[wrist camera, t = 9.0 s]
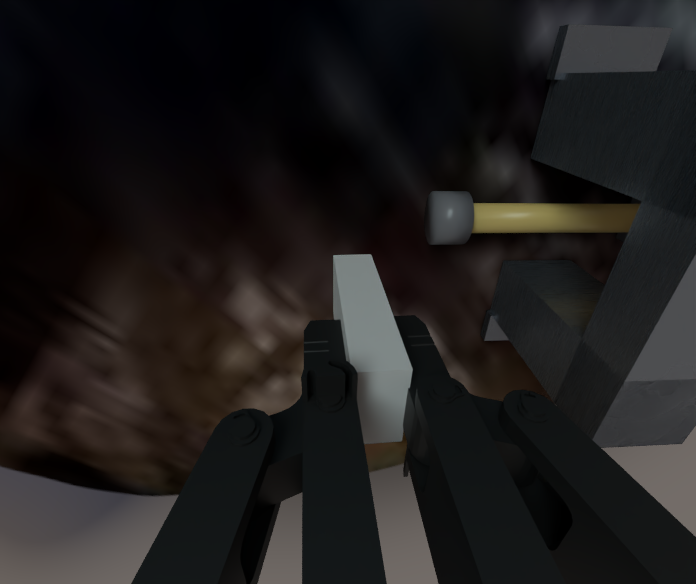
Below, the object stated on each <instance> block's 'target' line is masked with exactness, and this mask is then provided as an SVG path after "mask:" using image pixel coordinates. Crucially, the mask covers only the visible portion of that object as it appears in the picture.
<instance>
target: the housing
mask: <svg viewBox="0 0 696 584" xmlns="http://www.w3.org/2000/svg"><path fill="white" fill-rule="evenodd" d="M671 31H672V28H655V27H627V26H599V25H571V24H569V25H564V26H560V28H559V32H558V36H557V40H556V43H555V47H554V51H553V55H552V59H551V63H550V67H549V71H548V75H547V78H546V79H550V80H551V83H550V87H549V90H548V94H547V98H546V102H545V106H544V109H543V113H542V117H541V121H540V125H539V128H538V132H537V136H536V140H535V143H534V147H533V151H532V155H531V159H534V160H536V161H539V162H541V163H544V164H547V165H549V166H552V167H555V168H557V169H560V170H562V171H565V172H568V173H570V174H573V175H575V176H578V177H581V178H583V179H586V180H589V181H591V182H594V183H596V184H599V185H602V186H604V187H607V188H609V189H612V190H615V191H617V192H620V193H623V194H625V195H628V196H630V197H633V198H636V199H638V200H641V201H642V202H641V204H640V206H639V209H638V211H637V213H636V215H635V218H634V220H633V222H632V225H631V227H630V229H629V231H628V234H627V236H626V238H625V241H624V243H623V245H622V247H621V250H620V252H619V254H618V257H617V259H616V261H615V263H614V266H613V268H612V270H611V272H610V275H609V277H608V279H607V282H606V284H605V285H604V284H602V283H601V282H600V281H598V280H597V279H595V278H594V277H593V276H591V275H590V274H589V273H587V272H586V271H585V270H583V269H582V268H580V267H579V266H578V265H576V264H575V263H574V262H572V261H571V260H530V261H503V264H502V268H501V272H500V276H499V280H498V283H497V287H496V291H495V295H494V299H493V302H492V306H491V310H487V311H486V315H485V319H484V323H483V326H482V330H481V334H480V335H481V336H482V338H483V340H484V341H497V340H510V342H511V343H512V345H513V346H514V347H515V349H516V350H517V352H518V353H519V354H520V356H521V357H522V358H523V360H524V361H525V363H526V364H527V365H528V367H529V368H530V370H531V371H532V372H533V374H534V375H535V376H536V378H537V379H538V381H539V382H540V383H541V385H542V386H543V388H544V389H545V390H546V392H547V393H548V394H549V396H550V397H551V399H552V400H553V401H554V403H555V404H556V406H557V407H558V408H559V409H560V410H561V411H562V412H563V413H564V414H565V415H566V416H567V417H568V418H570V419H571V420H572V421H573V422H574V423H575V424H576V425H577V426H578V427H579V428H580V429H581V430H582V431H583V432H584V433H586V434H587V435H588V436H589V437H590V438H591V439H592V440H593V441H594V442H595V443H596V444H597V445H598V446H599V447H600V448H606V447H625V446H647V445H668V444H682V443H683V442H684V440H685V439H686V438H687V436H688V435H689V434H690V432H691V431H692V430H693V428H694V427H695V426H696V71H656V70H657V67H658V65H659V62H660V59H661V57H662V54H663V52H664V49H665V47H666V44H667V41H668V39H669V36H670V34H671Z"/></svg>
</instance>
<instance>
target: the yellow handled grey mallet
mask: <svg viewBox="0 0 696 584" xmlns="http://www.w3.org/2000/svg"><path fill="white" fill-rule="evenodd" d="M641 202H642V201H641V200H638V199H636V198H632V201H631V203H630V204H547V203H473V200H472V197H471V195H470V193H468V192H466V191H432V192H431V193H430V195H429V197H428V199H427V203H426V208H425V216H424V227H425V235H426V239H427V241H428V243H429V244H431V245H439V244H465V243H466V242H467V241H468V240H469V238H470V235H471V233H611V232H618V233H617V236H616V238H617V239H619V240H620V241H622V242H624V241H625V238H626V236H627V234H628V231H629V229H630V227H631V225H632V222H633V220H634V218H635V215H636V213H637V211H638V209H639V206H640V204H641Z"/></svg>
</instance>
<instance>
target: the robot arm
mask: <svg viewBox="0 0 696 584" xmlns="http://www.w3.org/2000/svg"><path fill="white" fill-rule="evenodd" d="M333 313H334V320H315V321H310V322H309V324H308V325H307V327H306V328H305V330H304V370H303V373H302V377H301V381H302V395H301V397H300V399H299V400H298V401H297V402H296V403H295V404H294V405H293V406H291V407H290V408H288V409H286V410H284V411H282V412H279V413H276V414H273V415H270V416H268V415H267V414H266V413H265V412H264V411H260V410H257V409H241V410H238V411H235V412H232V413H231V414H229V415H228V416H226V417H225V418H223V419H222V420H221V421H220V423H219V424H218V425H217V426H216V428H215V429H214V431H213V433H212V435H211V437H210V439H209V441H208V442H207V444H206V446H205V448H204V450H203V452H202V454H201V455H200V457H199V459H198V461H197V463H196V465H195V467H194V468H193V470H192V472H191V474H190V476H189V478H188V479H187V481H186V483H185V485H184V487H183V489H182V491H181V492H180V494H179V496H178V498H177V500H176V502H175V504H174V505H173V507H172V509H171V511H170V513H169V515H168V517H167V519H166V520H165V522H164V524H163V526H162V528H161V530H160V531H159V533H158V535H157V537H156V539H155V541H154V543H153V544H152V546H151V548H150V550H149V552H148V554H147V555H146V557H145V559H144V561H143V563H142V565H141V567H140V568H139V570H138V572H137V574H136V576H135V578H134V580H133V582H132V583H131V584H257V583H258V579H259V576H260V573H261V569H262V566H263V562H264V559H265V555H266V552H267V548H268V545H269V542H270V538H271V535H272V532H273V528H274V525H275V521H276V518H277V514H278V511H279V508H280V504H281V501H283V500H285V499H287V498H290V497H292V496H294V495H297V494H299V493H301V492H303V505H302V506H303V508H302V510H303V512H302V584H387V583H386V577H385V570H384V565H383V558H382V552H381V546H380V540H379V534H378V528H377V522H376V515H375V509H374V502H373V496H372V490H371V484H370V478H369V472H368V465H367V459H366V453H365V447H364V444H372V443H385V442H398V441H402V436H403V430H404V432H405V436H406V439H407V443H408V444H407V450H406V456H405V462H404V470H403V471H404V477H405V476H406V477H407V476H408V472H409V471H410V475H411V479H412V482H413V486H414V490H415V494H416V498H417V502H418V506H419V510H420V513H421V517H422V521H423V525H424V529H425V533H426V537H427V541H428V544H429V548H430V552H431V556H432V560H433V564H434V568H435V572H436V575H437V579H438V583H439V584H696V537H695V536H694V535H693V534H692V533H691V532H690V531H689V530H687V528H686V527H684V526H683V525H682V524H681V523H680V522H679V521H678V520H677V519H676V518H675V517H674V516H673V515H672V514H671V513H670V512H668V511H667V510H666V509H665V508H664V507H663V506H662V505H661V504H660V503H659V502H658V501H657V500H656V499H655V498H654V497H653V496H651V495H650V494H649V493H648V492H647V491H646V490H645V489H644V488H643V487H642V486H641V485H640V484H639V483H638V482H636V481H635V480H634V479H633V478H632V477H631V476H630V475H629V474H628V473H627V472H626V471H625V470H624V469H623V468H622V467H621V466H620V465H618V464H617V463H616V462H615V461H614V460H613V459H612V458H611V457H610V456H609V455H608V454H607V453H606V452H605V451H603V450H602V449H601V448H600V447H599V446H598V445H597V444H596V443H595V442H594V441H593V440H592V439H591V438H590V437H589V436H588V435H587V434H586V433H584V432H583V431H582V430H581V429H580V428H579V427H578V426H577V425H576V424H575V423H574V422H573V421H572V420H571V419H570V418H568V417H567V416H566V415H565V414H564V413H563V412H562V411H561V410H560V409H559V408H558V407H557V406H556V405H555V404H554V403H552V402H551V401H549V400H548V399H547V398H545V397H544V396H542V395H539V394H537V393H535V392H532V391H526V390H515V391H512V392H510V393H508V394H506V396H505V398H504V400H503V402H502V401H497V400H492V399H487V398H482V397H478V396H474V395H472V394H470V393H469V392H468V391H467V389H466V388H465V387H464V385H463V384H461V383H460V382H458V381H457V380H455V379H453V378H451V377H450V375H449V373H448V371H447V369H446V367H445V365H444V362H443V360H442V358H441V356H440V354H439V352H438V350H437V348H436V346H435V345H434V342H433V339H432V337H430V333H429V331H428V329H427V327H426V325H425V324H424V323H423V322H422V321H421V320H420V319H419V318H417V317H416V316H415V315H411V316H393V314H392V311H391V308H390V305H389V303H388V300H387V297H386V294H385V292H384V289H383V286H382V283H381V281H380V278H379V275H378V272H377V270H376V267H375V264H374V261H373V259H372V256H371V254H365V255H333Z"/></svg>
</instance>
